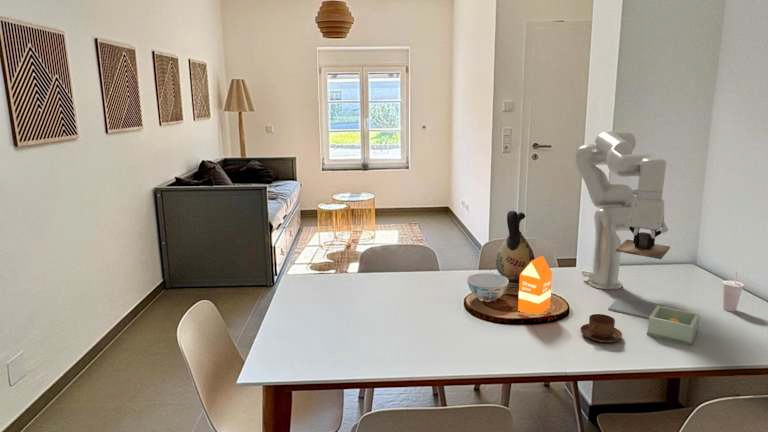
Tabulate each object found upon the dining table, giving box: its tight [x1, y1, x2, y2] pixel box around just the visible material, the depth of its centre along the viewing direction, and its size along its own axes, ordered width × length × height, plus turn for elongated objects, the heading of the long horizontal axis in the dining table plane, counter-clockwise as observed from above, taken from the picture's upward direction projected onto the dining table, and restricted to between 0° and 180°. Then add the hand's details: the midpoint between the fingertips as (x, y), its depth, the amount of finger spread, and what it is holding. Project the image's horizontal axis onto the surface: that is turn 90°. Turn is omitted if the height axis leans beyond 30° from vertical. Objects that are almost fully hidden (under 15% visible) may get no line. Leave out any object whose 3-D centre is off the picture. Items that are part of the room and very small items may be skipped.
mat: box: [607, 295, 666, 320], centre depth 184 cm, size 15×15×1 cm
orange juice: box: [517, 255, 553, 315], centre depth 179 cm, size 8×9×20 cm
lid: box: [616, 231, 671, 260], centre depth 179 cm, size 14×14×6 cm
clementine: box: [668, 318, 680, 323], centre depth 164 cm, size 4×4×4 cm
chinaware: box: [466, 272, 509, 300], centre depth 193 cm, size 15×15×8 cm
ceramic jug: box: [495, 210, 536, 286], centre depth 208 cm, size 17×15×30 cm
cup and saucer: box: [580, 313, 623, 343], centre depth 162 cm, size 12×12×6 cm
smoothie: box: [721, 270, 745, 313], centre depth 181 cm, size 6×6×14 cm
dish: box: [646, 305, 701, 347], centre depth 164 cm, size 12×12×6 cm
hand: (643, 246), depth 179 cm, fingers closed on lid, 3 cm apart
